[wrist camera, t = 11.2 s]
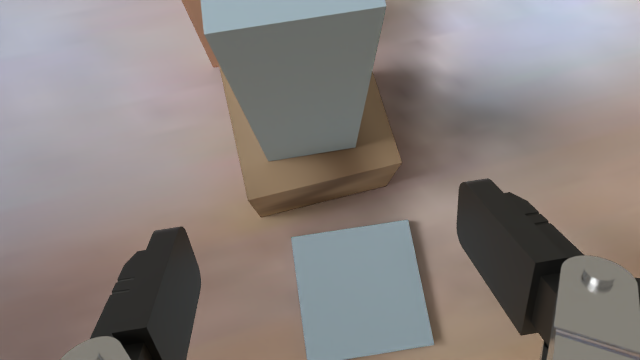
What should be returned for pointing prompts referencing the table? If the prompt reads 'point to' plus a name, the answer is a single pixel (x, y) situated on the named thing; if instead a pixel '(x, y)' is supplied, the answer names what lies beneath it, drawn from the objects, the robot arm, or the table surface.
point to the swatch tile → (360, 292)
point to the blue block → (297, 68)
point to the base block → (315, 162)
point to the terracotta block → (199, 26)
